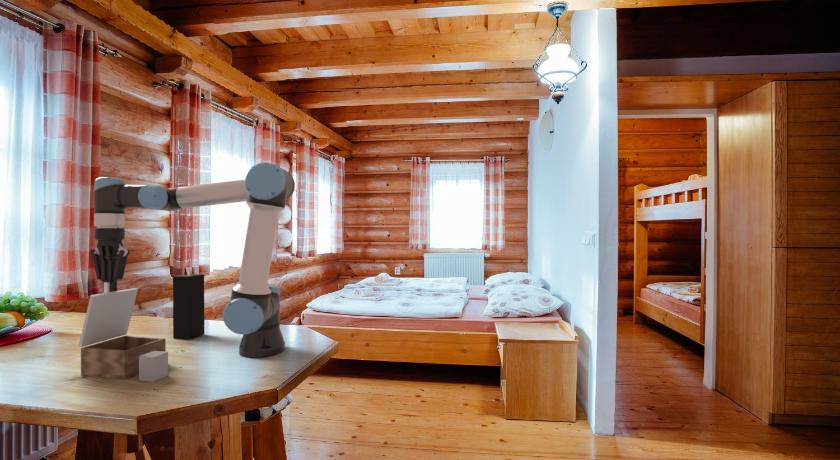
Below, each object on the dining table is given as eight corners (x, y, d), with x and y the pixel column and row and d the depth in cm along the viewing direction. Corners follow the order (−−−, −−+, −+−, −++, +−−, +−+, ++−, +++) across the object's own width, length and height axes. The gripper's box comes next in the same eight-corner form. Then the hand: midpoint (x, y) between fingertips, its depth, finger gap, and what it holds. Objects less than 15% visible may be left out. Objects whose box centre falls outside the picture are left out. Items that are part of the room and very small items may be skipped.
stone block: (168, 375, 118) (168, 351, 118) (153, 381, 113) (153, 357, 113) (154, 374, 119) (154, 350, 119) (139, 380, 114) (138, 356, 114)
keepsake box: (165, 363, 128) (165, 338, 128) (124, 379, 114) (124, 351, 114) (125, 359, 131) (125, 335, 131) (80, 374, 118) (80, 348, 118)
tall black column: (189, 339, 154) (189, 268, 154) (172, 338, 156) (172, 267, 156) (204, 334, 162) (204, 266, 162) (188, 333, 164) (187, 265, 163)
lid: (138, 288, 130) (135, 287, 130) (93, 296, 116) (90, 295, 116) (126, 334, 131) (124, 333, 132) (81, 347, 117) (78, 345, 118)
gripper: (137, 227, 126) (137, 301, 126) (105, 227, 129) (105, 299, 129) (114, 227, 119) (114, 305, 119) (80, 227, 121) (81, 303, 122)
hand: (109, 302), depth 124 cm, fingers closed
